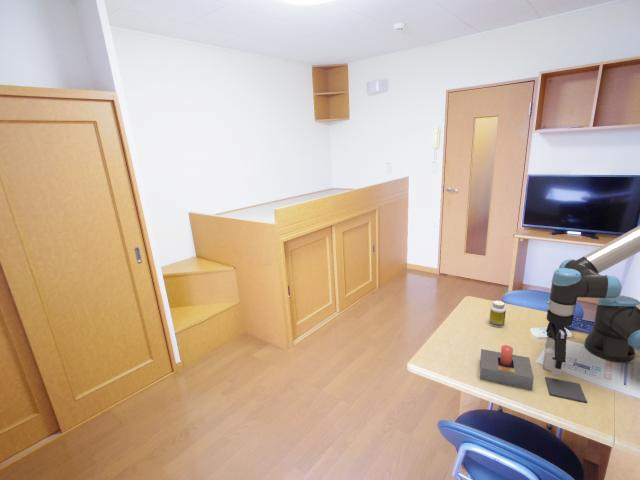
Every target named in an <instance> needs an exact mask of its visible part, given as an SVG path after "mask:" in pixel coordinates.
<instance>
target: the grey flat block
mask: <svg viewBox="0 0 640 480" xmlns="http://www.w3.org/2000/svg"><path fill="white" fill-rule="evenodd" d="M500 357H501V351H494V350H489V349H484V348H481V349H480V360H479V362H480V364H479V365H480V366H479V367H480V369H479V372H480V375H479V377H480V380H482V381H486V382H491V383H495V384H500V385H505V386H509V387H515V388H519V389H524V390H527V391H533V386H534V385H533V384H534V378H535V377H534V373H533V369H532V364H531V359H530V357H527V356H523V355H522V356H521V355H516V354H512V363H511V366H510V367H505V366H502V365H501V364H500Z"/></svg>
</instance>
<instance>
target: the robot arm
mask: <svg viewBox="0 0 640 480" xmlns="http://www.w3.org/2000/svg"><path fill="white" fill-rule="evenodd" d="M638 253H640V225H638V226H636V227H635V228H633V229H631V230H628V231H627V232H625V233H623V234H621V235H620V236H618V237H616V238H614V239H613V240H611V241H609V242H607V243H605V244H604V245H602V246H600V247H598V248H596V249H593V250H592V251H591V252H589V253H587V254H586V255H584V256H582V257H580V258H578V259H574V258H572V259H571V258H570V259H565V260H563V261H561V263H560V264H559V266H558V268H556V269H555V270H554V272H553V274H552V279H551V287H550V293H549V294H550V295H549V300H547V301H546V303H547V305H548V309H547V313H546V320H547V321H548V324H547V327H546V330H545V332H546V336H547V337H546V339H545V347H544V350H545V349H547V348H551V344H552V343H553V342H555V358H554V357H553V358H552V359H553V365H552V371H550V372H551V375H552V376H558V377H561V376H562V373H563V372H562V371H563V370H562V369H563V365H564V363H566V362H567V360H566V359H567V341H568V340H567V338H568V333H567V327H570V326H572V325H573V323H574V314H575V312H576V306H577V300H578V298H583V299H584V298H589V299H590V298H592V299H598V301H597V303H596V305H597V307H596V310H595V317H594V321H593V326H592V329H591V331H589V334H588V335H587V336H586V337H585V339H584V344H583V346H584V347H585V348H586V350H587V351H588V352H590V353H591V354H593V355H595V356H597V357H599V358H601V359H604V360H607V361H611V362H616V363H630V362H633V361H634V360H635V358H636V351H638V352H639V353H640V300H638V299H636V298H633V297H631V296H626V295H621V293H622V289H623V287H622V282H621V280H620V279H619V278H618V277H616V275H615V276H614V275H607V274H606V275H602V274H600V273H602V272H604V271H606V270H608V269H610V268H611V267H613V266H615V265H617V264H619V263H621V262H623V261H625V260H627V259H628V258H630V257H632V256H634V255H636V254H638Z"/></svg>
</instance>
